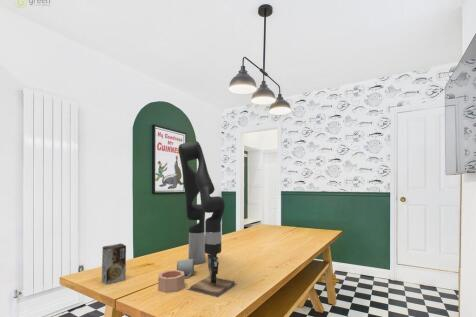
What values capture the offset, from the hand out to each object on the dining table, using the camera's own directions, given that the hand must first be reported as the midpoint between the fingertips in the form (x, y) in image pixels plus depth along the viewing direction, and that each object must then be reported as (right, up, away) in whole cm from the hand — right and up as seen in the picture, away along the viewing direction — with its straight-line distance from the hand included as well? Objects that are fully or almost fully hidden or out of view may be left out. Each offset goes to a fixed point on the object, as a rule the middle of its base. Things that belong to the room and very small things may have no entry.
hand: (212, 281), depth 119 cm
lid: (0, -2, 0) cm, 2 cm away
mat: (0, -3, 0) cm, 3 cm away
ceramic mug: (-15, -5, +15) cm, 22 cm away
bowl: (-18, -3, 0) cm, 19 cm away
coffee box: (-48, -4, +9) cm, 49 cm away
